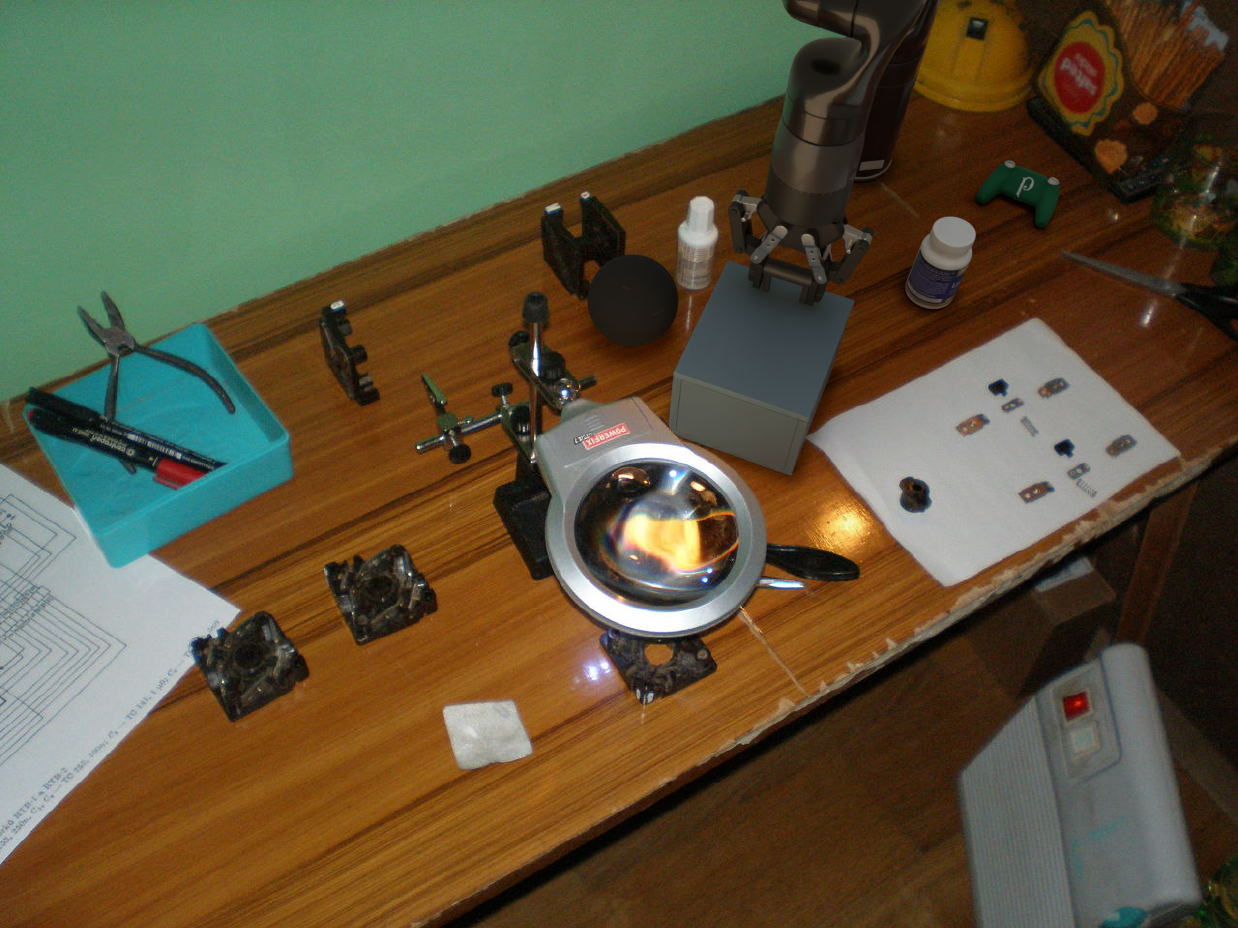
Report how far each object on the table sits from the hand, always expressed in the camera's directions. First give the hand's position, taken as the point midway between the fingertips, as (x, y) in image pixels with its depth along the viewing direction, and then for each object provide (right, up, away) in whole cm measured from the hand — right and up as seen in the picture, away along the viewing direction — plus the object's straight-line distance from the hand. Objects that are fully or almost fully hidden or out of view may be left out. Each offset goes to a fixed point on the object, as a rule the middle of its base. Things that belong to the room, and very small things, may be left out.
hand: (784, 290), depth 100 cm
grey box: (-2, -11, +7) cm, 13 cm away
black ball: (-15, -3, +12) cm, 20 cm away
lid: (-2, -5, -1) cm, 6 cm away
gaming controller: (+33, +15, +24) cm, 43 cm away
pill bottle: (+20, +2, +16) cm, 25 cm away
